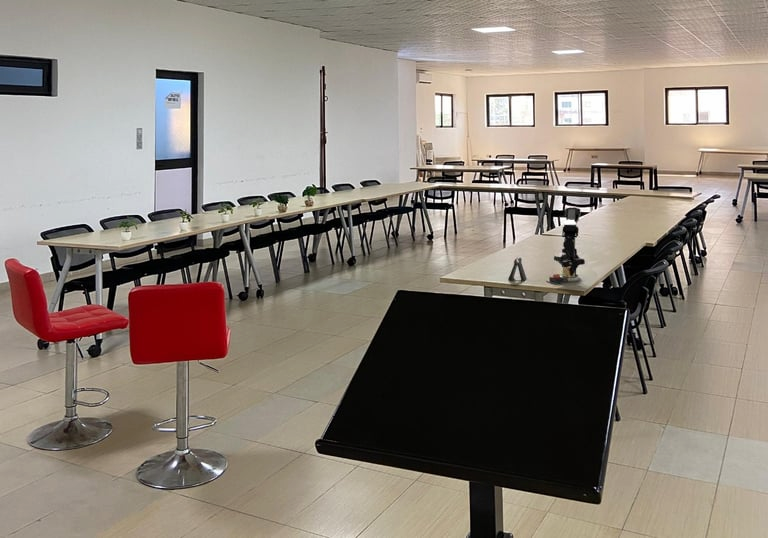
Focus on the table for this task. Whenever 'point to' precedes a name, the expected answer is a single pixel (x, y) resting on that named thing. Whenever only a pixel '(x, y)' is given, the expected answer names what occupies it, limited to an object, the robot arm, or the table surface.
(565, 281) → the ball holder tray
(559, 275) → the red rounded part
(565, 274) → the billet
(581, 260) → the robot arm
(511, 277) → the phone stand
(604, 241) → the table surface
